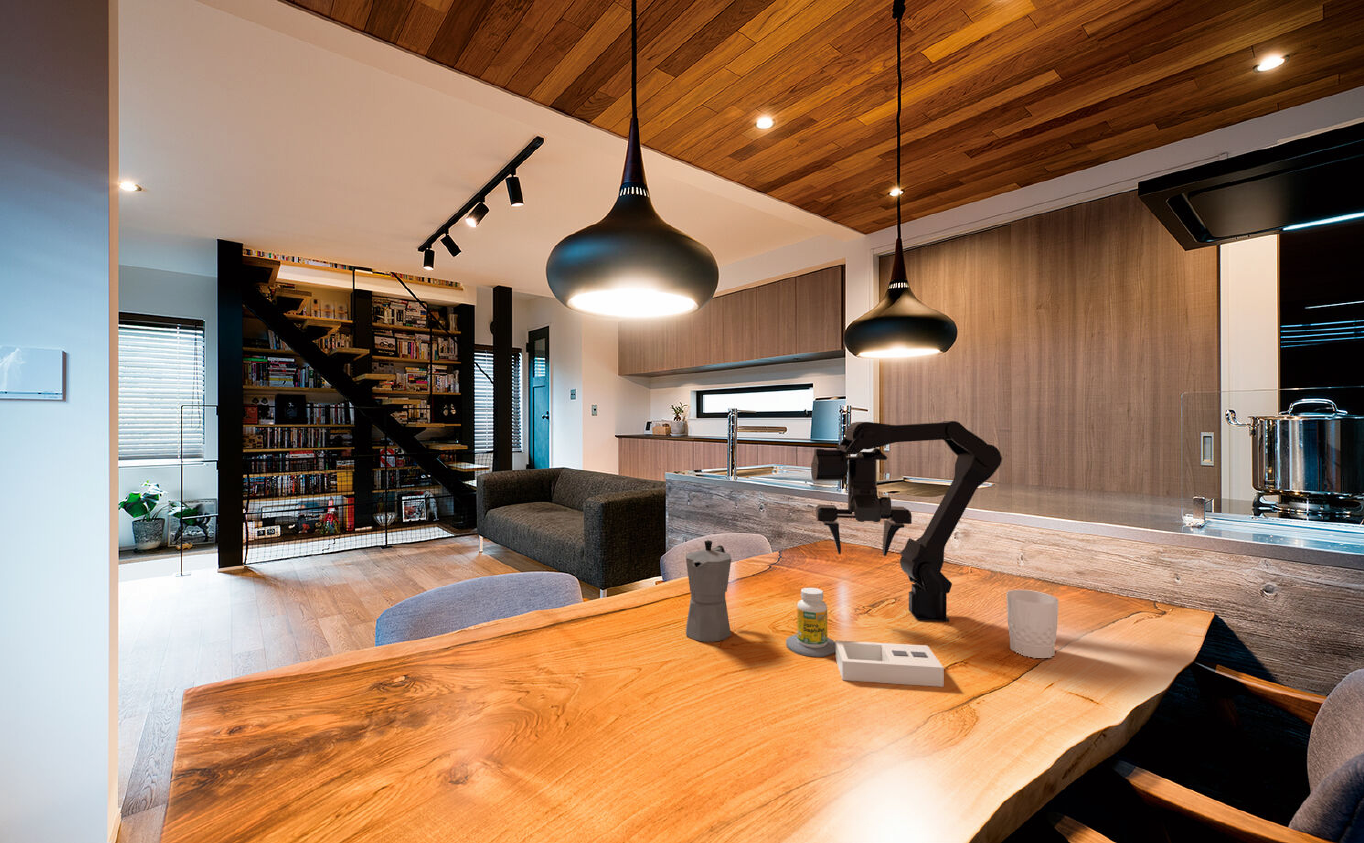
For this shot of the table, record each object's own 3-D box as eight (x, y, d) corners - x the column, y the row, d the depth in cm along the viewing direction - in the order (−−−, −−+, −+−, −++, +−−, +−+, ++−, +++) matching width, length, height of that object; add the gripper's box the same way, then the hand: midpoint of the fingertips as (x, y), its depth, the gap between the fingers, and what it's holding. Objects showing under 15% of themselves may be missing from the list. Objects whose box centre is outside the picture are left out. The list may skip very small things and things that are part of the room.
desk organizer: (927, 663, 94) (927, 644, 94) (943, 686, 86) (943, 666, 86) (835, 657, 96) (835, 639, 96) (842, 680, 88) (842, 660, 88)
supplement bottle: (823, 637, 104) (824, 586, 104) (830, 649, 98) (830, 595, 98) (794, 636, 104) (795, 585, 104) (799, 648, 99) (800, 595, 99)
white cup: (1017, 639, 105) (1017, 586, 105) (1065, 653, 98) (1065, 597, 98) (998, 649, 100) (998, 594, 100) (1047, 665, 94) (1047, 606, 94)
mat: (833, 638, 105) (833, 635, 105) (840, 658, 96) (840, 654, 96) (785, 635, 106) (785, 632, 106) (787, 655, 97) (787, 651, 97)
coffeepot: (720, 650, 99) (720, 550, 99) (672, 641, 103) (672, 545, 103) (744, 621, 114) (744, 534, 114) (701, 615, 117) (701, 530, 117)
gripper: (821, 484, 110) (820, 562, 110) (919, 486, 107) (919, 566, 107) (815, 478, 121) (815, 549, 121) (904, 480, 118) (904, 553, 118)
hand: (861, 554), depth 117 cm, fingers open, 9 cm apart
